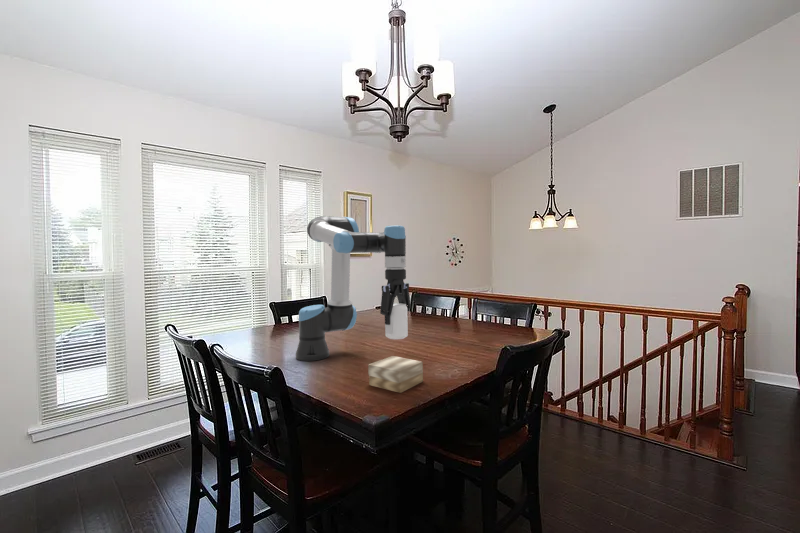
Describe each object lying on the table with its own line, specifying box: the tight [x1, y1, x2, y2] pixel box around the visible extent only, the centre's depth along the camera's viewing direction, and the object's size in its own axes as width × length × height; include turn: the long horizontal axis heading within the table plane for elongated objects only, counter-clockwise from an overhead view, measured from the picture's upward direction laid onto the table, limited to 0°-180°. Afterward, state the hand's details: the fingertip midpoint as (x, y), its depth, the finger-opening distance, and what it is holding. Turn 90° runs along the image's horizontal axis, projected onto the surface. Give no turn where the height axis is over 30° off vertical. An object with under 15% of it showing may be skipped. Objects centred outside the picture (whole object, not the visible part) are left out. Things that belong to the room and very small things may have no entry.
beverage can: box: [385, 302, 409, 340], centre depth 140 cm, size 8×8×12 cm
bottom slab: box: [368, 372, 424, 394], centre depth 141 cm, size 14×14×4 cm
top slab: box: [367, 355, 424, 383], centre depth 140 cm, size 14×14×4 cm
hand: (396, 331), depth 140 cm, fingers closed on beverage can, 8 cm apart
